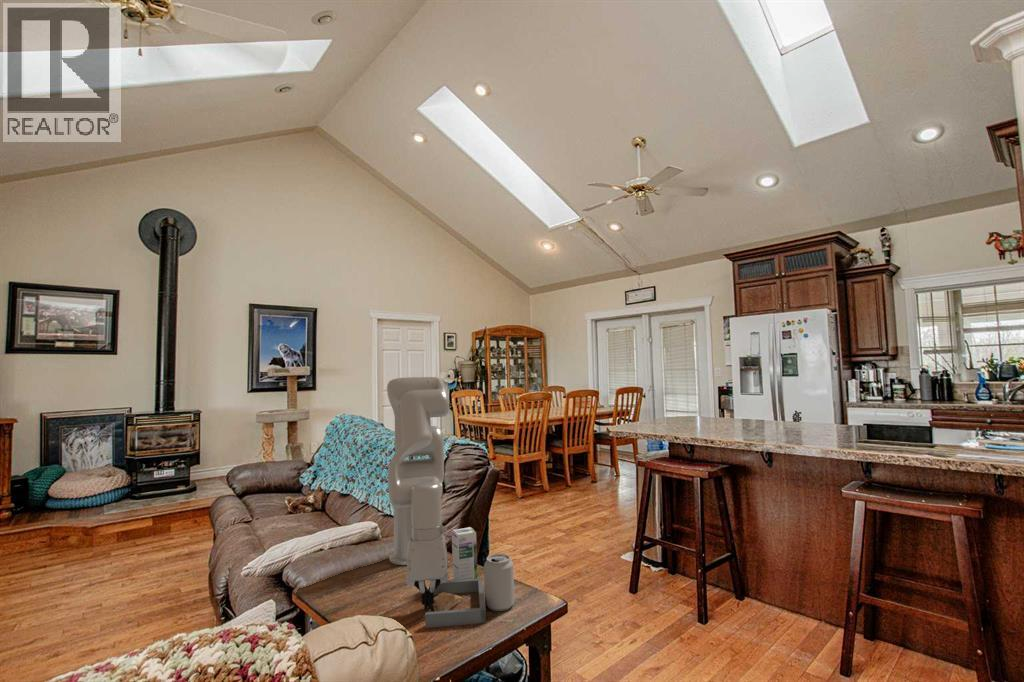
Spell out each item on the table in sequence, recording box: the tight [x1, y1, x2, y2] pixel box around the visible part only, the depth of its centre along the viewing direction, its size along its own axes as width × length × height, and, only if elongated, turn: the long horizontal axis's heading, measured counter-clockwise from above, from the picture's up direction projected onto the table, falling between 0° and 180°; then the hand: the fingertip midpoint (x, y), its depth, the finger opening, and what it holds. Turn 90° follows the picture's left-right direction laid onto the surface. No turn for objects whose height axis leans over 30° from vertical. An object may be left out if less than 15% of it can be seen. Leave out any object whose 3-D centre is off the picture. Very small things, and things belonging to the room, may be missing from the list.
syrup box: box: [451, 526, 479, 580], centre depth 139 cm, size 6×6×14 cm
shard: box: [431, 592, 464, 612], centre depth 124 cm, size 11×8×2 cm
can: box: [483, 553, 515, 612], centre depth 124 cm, size 8×8×12 cm
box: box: [424, 577, 487, 629], centre depth 123 cm, size 18×14×3 cm
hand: (428, 606), depth 122 cm, fingers closed
